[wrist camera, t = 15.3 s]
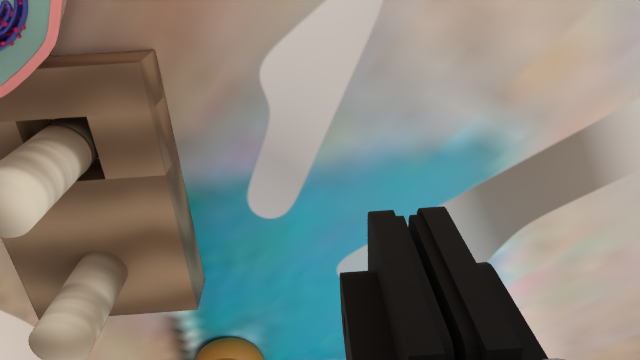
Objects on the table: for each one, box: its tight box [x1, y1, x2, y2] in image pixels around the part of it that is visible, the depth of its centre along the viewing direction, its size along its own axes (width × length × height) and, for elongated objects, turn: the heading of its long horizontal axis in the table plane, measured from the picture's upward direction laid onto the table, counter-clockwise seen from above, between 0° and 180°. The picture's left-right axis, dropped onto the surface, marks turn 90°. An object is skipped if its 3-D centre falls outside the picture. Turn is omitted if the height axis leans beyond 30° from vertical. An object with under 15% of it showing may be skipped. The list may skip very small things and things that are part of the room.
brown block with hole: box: [0, 50, 205, 360], centre depth 34 cm, size 22×14×12 cm, turn 3°
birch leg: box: [0, 116, 99, 238], centre depth 32 cm, size 4×4×12 cm
